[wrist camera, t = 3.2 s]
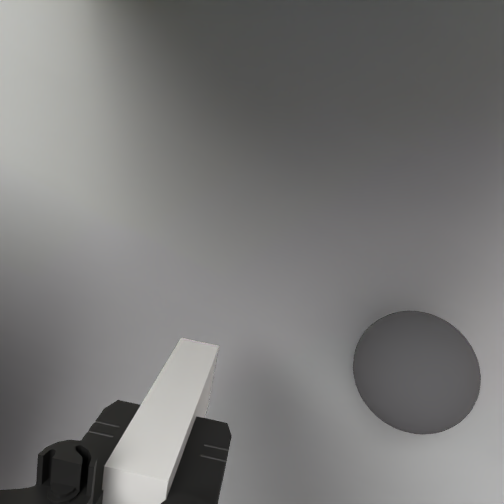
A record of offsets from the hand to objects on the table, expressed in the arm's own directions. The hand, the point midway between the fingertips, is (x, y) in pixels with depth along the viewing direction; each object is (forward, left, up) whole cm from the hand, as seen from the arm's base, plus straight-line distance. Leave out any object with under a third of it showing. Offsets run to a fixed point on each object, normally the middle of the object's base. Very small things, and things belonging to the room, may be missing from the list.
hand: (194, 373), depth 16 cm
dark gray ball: (+6, +8, -4) cm, 10 cm away
